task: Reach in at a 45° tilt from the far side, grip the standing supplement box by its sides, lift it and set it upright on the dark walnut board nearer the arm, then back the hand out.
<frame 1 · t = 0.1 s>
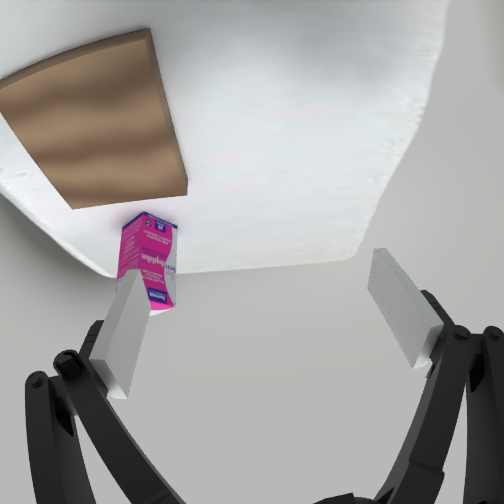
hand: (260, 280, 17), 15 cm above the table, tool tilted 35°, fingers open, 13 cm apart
walnut board: (98, 130, 24), on the table
supplement box: (149, 225, 40), on the table
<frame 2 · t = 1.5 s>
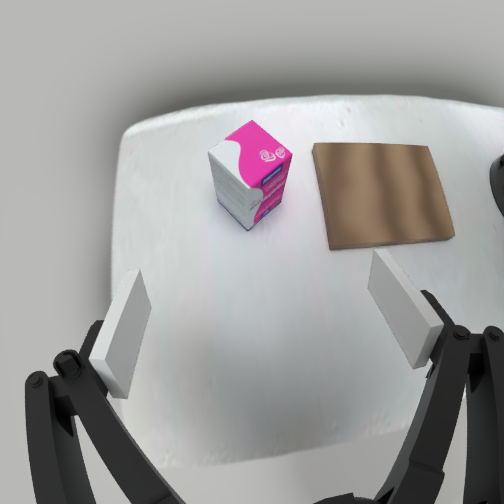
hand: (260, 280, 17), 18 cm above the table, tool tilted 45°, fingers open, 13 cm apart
walnut board: (384, 194, 38), on the table
supplement box: (250, 202, 38), on the table
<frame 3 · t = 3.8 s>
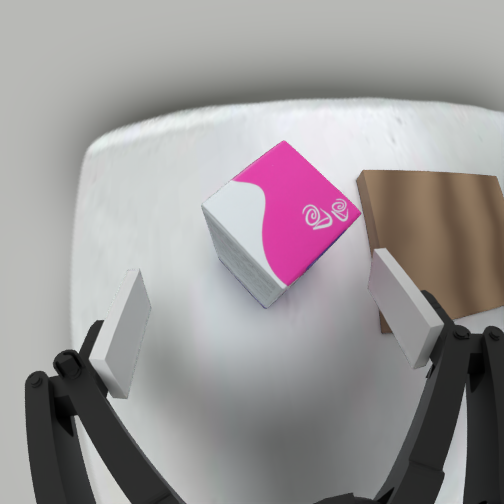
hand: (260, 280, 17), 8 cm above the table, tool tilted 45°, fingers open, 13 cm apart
walnut board: (449, 245, 26), on the table
supplement box: (268, 261, 26), on the table
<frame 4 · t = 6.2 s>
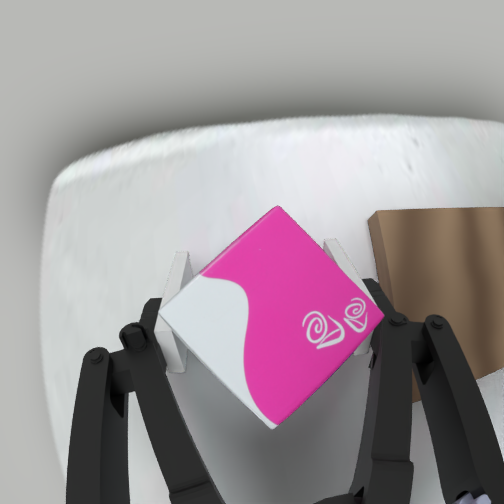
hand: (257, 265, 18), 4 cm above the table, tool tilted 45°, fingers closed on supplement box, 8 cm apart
walnut board: (469, 293, 21), on the table
supplement box: (260, 325, 21), on the table, touching gripper
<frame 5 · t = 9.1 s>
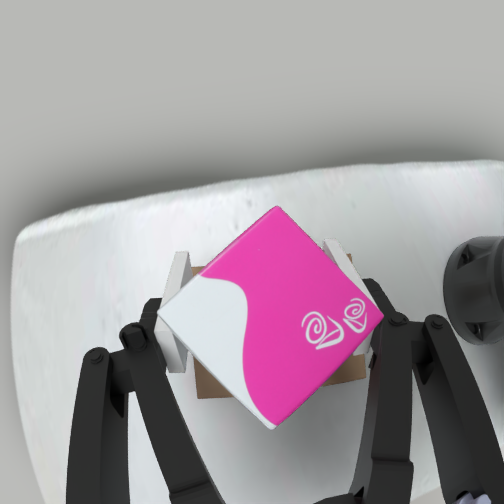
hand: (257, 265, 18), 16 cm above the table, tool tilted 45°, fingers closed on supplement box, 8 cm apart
walnut board: (276, 326, 33), on the table
supplement box: (260, 326, 21), point 13 cm above the table, touching gripper
when the fingers open (7 cm above the table, at t = 12.0 s): supplement box drops 1 cm, resting on walnut board.
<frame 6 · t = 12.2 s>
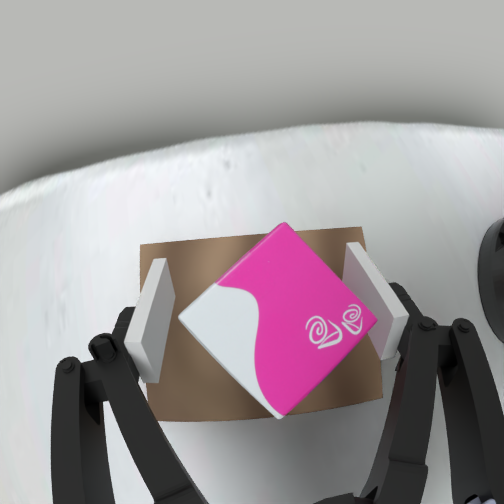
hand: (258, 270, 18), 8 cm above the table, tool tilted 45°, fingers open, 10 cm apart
walnut board: (259, 327, 24), on the table
supplement box: (264, 327, 22), point 2 cm above the table, touching walnut board
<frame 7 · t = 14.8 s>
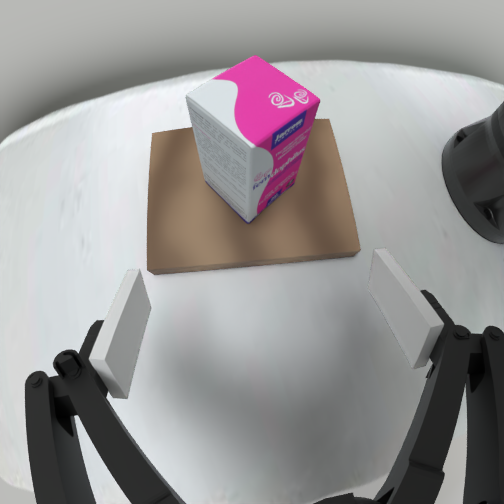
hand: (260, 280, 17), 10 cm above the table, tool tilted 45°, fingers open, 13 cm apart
walnut board: (247, 192, 29), on the table
supplement box: (250, 184, 27), point 2 cm above the table, touching walnut board
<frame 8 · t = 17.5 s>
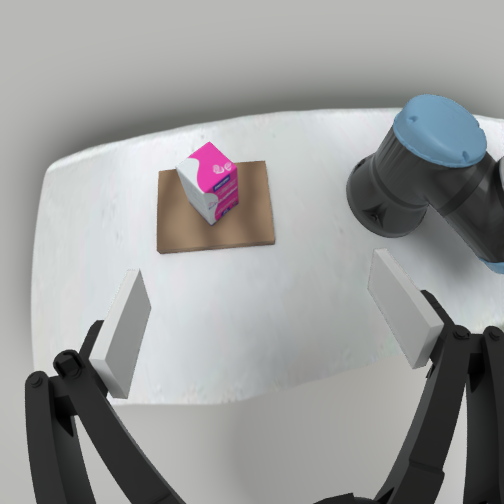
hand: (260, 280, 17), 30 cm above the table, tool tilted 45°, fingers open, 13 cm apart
walnut board: (213, 207, 50), on the table
supplement box: (214, 203, 48), point 2 cm above the table, touching walnut board
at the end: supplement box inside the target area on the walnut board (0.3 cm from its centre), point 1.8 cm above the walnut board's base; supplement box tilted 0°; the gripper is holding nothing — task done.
